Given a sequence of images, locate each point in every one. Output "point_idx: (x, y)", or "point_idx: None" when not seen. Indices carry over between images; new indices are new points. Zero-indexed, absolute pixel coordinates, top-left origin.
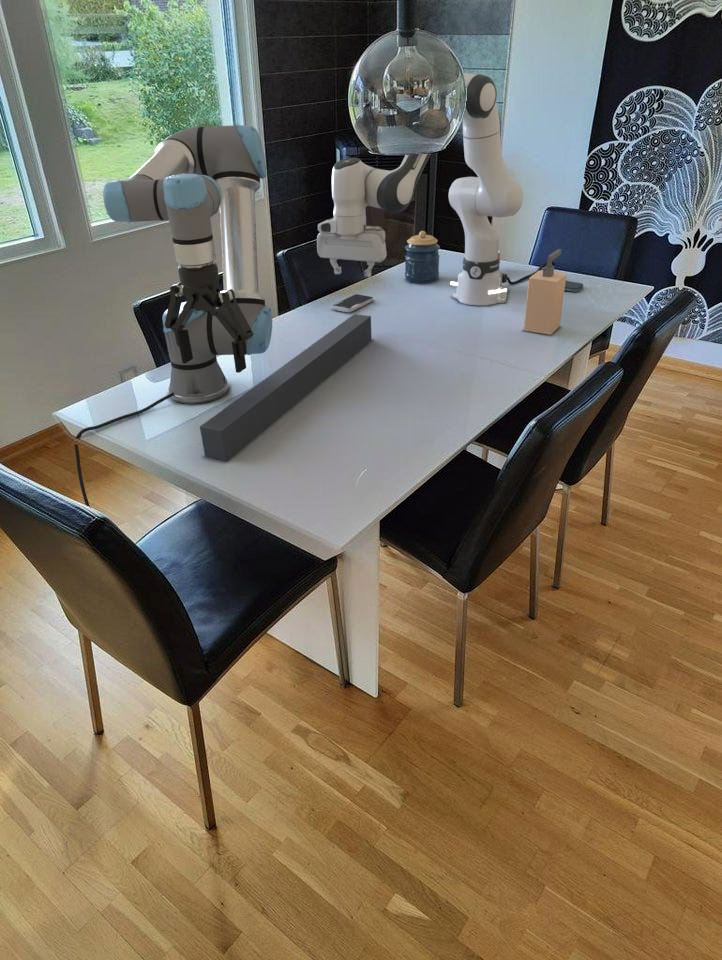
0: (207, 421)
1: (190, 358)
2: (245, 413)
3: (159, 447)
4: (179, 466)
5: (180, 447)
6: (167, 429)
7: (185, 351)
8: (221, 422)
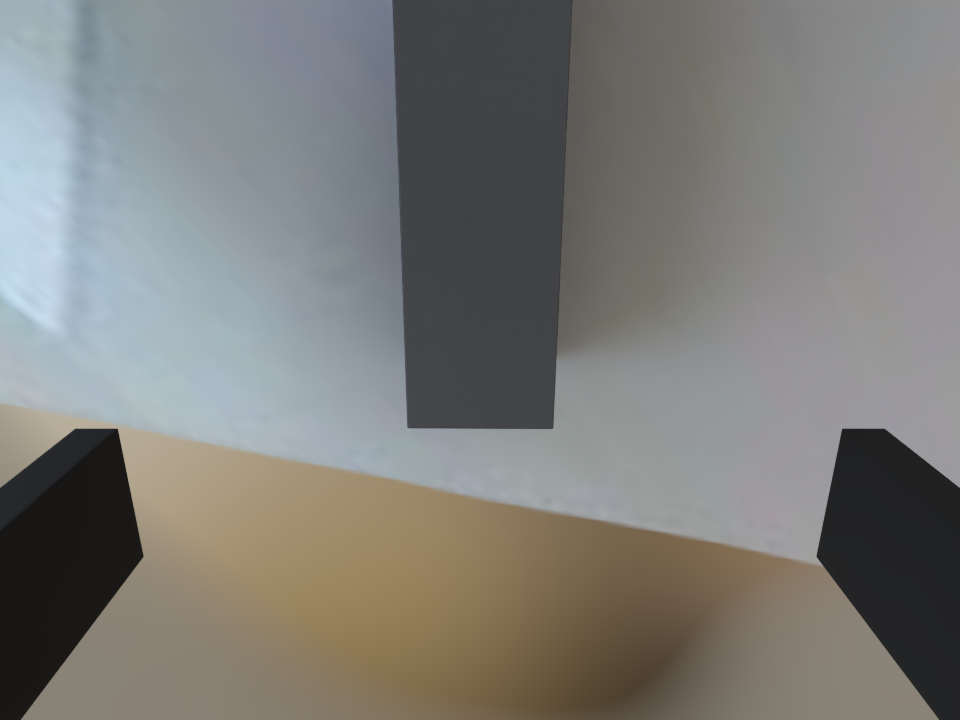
0: (410, 363)
1: (117, 482)
2: (563, 175)
3: (171, 370)
4: (372, 461)
5: (259, 335)
6: (59, 211)
7: (62, 610)
8: (495, 344)
